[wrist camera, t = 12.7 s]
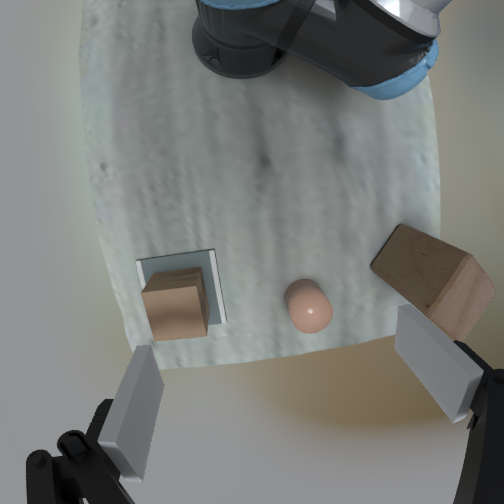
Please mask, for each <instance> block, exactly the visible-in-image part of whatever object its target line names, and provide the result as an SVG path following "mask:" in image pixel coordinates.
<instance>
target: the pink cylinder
mask: <svg viewBox="0 0 504 504" xmlns="http://www.w3.org/2000/svg"><path fill="white" fill-rule="evenodd" d="M285 303H286V306H287V308H288V311H289V313H290V316H291V319H292V321H293V324H294V326H295V327H296V328H297V329H298V330H299V331H301V332H304V333H316V332H319V331H321V330H323V329H324V328H325V327H326V326H327V325H328V324H329V323H330V321H331V319H332V316H333V308H332V305H331V303H330V302H329V300H328V299H327V298H326V296H325V295H324V293H323V292H322V290H321V289H320V287H319V286H318V285H317V284H316V283H315V282H314V281H312V280H308V279H301V280H298V281H296V282H294V283H292V284H291V285H290V286H289V287H288V289H287V290H286V293H285Z"/></svg>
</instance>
